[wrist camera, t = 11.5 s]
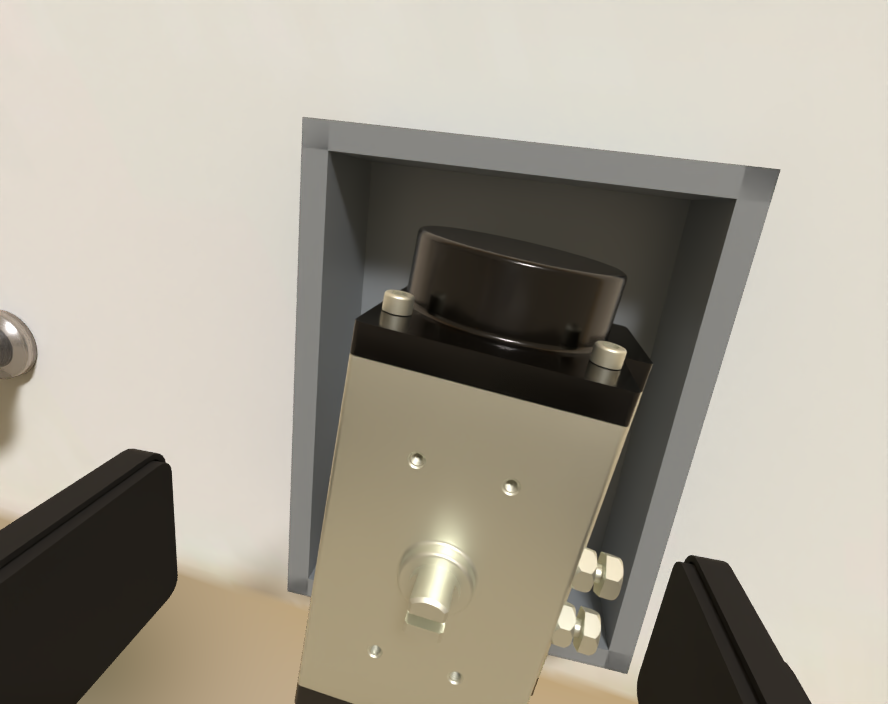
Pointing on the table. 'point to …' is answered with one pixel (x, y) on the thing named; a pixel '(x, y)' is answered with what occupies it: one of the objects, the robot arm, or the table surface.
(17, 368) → the metal knob
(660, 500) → the tray
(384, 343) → the pneumatic valve
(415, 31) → the table surface
